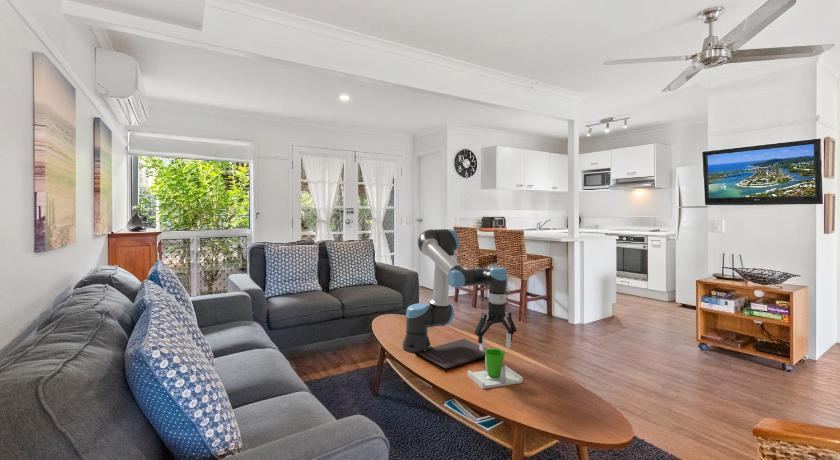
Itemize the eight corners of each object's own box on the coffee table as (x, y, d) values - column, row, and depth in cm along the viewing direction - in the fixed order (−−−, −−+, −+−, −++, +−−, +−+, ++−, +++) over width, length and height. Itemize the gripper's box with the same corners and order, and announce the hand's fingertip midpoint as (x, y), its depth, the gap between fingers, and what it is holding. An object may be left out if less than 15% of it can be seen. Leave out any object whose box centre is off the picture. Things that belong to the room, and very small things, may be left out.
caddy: (466, 375, 185) (467, 357, 185) (504, 369, 192) (505, 352, 192) (483, 389, 171) (484, 370, 170) (523, 383, 178) (524, 365, 177)
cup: (504, 381, 176) (505, 356, 176) (483, 379, 178) (484, 354, 177) (504, 372, 185) (504, 349, 185) (484, 371, 187) (484, 347, 186)
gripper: (476, 306, 172) (474, 354, 173) (525, 302, 180) (523, 348, 182) (468, 301, 179) (466, 348, 180) (516, 298, 187) (514, 343, 189)
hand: (494, 348), depth 181 cm, fingers open, 13 cm apart
